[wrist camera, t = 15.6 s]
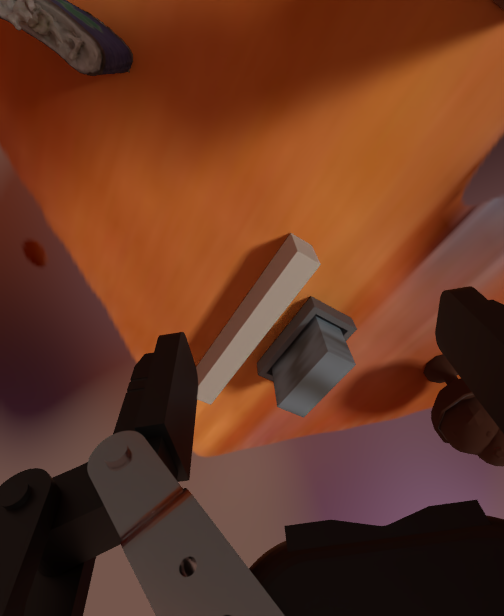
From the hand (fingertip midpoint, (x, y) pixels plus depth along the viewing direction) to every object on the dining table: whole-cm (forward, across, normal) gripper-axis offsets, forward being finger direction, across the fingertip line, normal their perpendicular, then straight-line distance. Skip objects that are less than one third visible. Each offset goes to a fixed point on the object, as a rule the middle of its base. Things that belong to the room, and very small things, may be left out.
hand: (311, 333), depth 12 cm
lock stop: (+30, -3, +25) cm, 39 cm away
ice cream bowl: (+30, -23, +34) cm, 51 cm away
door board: (+30, +4, +19) cm, 36 cm away
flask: (+30, +13, -12) cm, 35 cm away
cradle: (+30, -3, +25) cm, 39 cm away
